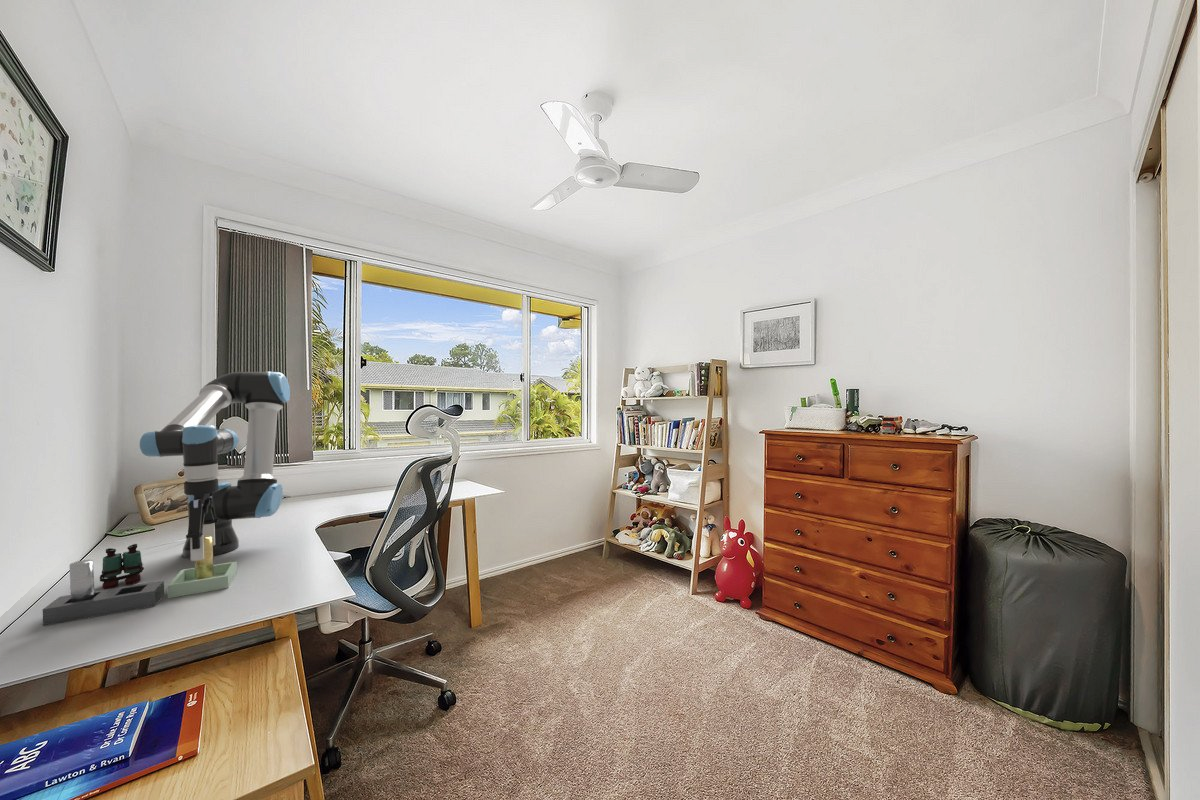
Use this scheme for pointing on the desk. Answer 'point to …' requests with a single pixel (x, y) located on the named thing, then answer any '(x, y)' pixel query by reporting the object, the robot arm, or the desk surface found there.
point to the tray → (202, 580)
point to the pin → (82, 580)
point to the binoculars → (121, 567)
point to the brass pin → (205, 561)
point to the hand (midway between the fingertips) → (203, 552)
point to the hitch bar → (104, 603)
